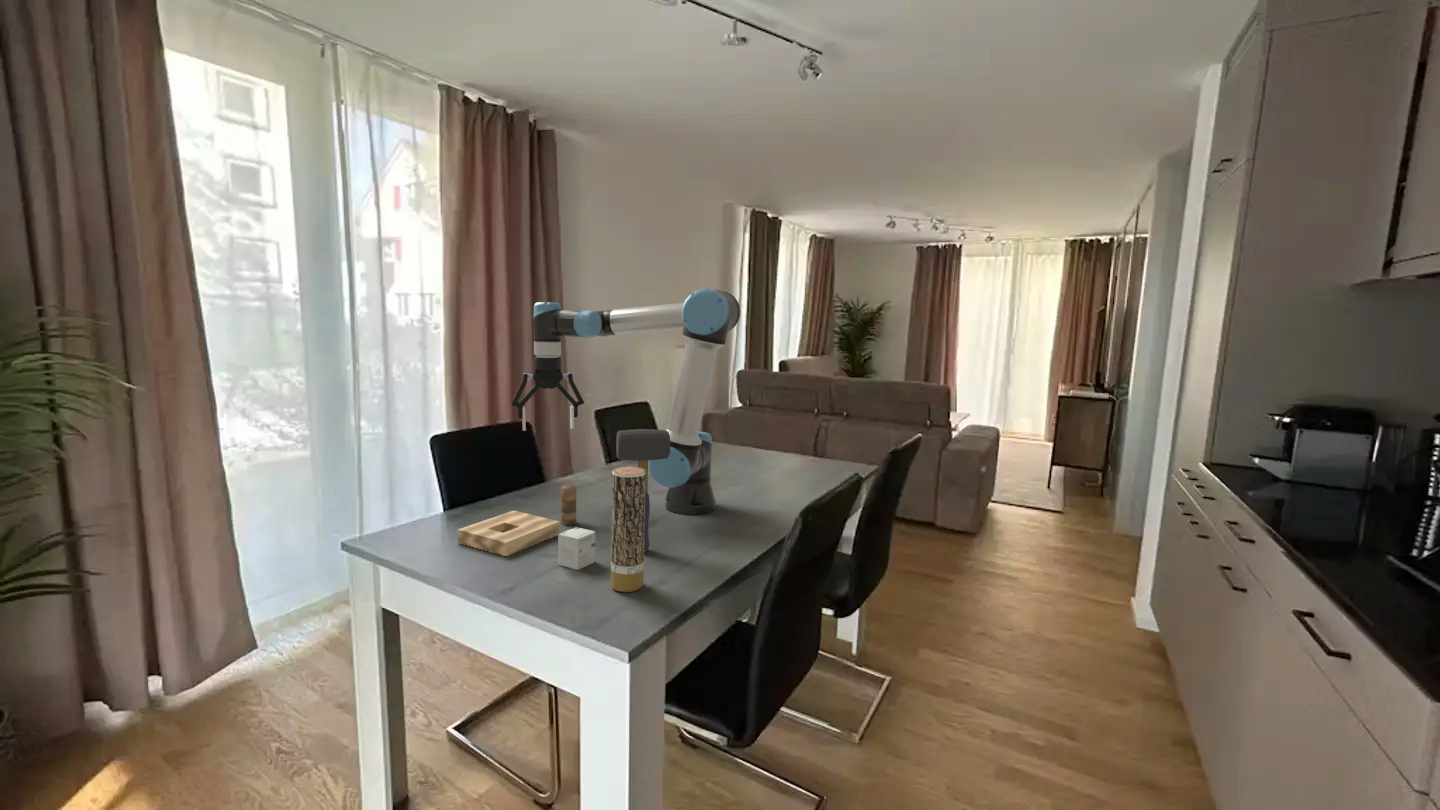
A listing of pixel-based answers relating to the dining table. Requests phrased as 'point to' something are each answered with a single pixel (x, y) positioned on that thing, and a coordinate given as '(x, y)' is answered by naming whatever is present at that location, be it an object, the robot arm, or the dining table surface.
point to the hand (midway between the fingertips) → (548, 429)
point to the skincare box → (576, 548)
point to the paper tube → (627, 528)
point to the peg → (568, 505)
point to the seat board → (508, 532)
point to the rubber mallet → (643, 456)
